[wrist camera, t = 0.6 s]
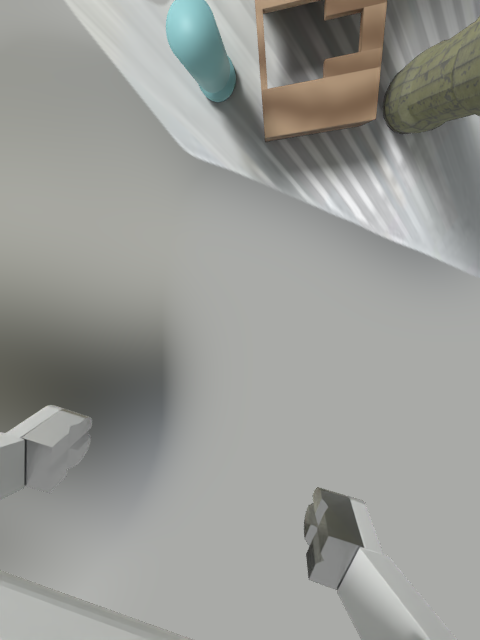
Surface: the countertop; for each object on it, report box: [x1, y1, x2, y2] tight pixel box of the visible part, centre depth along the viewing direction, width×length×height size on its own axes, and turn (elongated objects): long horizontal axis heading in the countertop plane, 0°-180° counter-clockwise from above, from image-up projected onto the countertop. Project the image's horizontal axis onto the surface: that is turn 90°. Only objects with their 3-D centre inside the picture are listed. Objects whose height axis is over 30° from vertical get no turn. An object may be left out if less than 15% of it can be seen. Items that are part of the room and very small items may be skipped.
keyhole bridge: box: [255, 0, 387, 142], centre depth 35 cm, size 18×15×7 cm
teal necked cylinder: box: [166, 0, 236, 102], centre depth 33 cm, size 6×6×16 cm
